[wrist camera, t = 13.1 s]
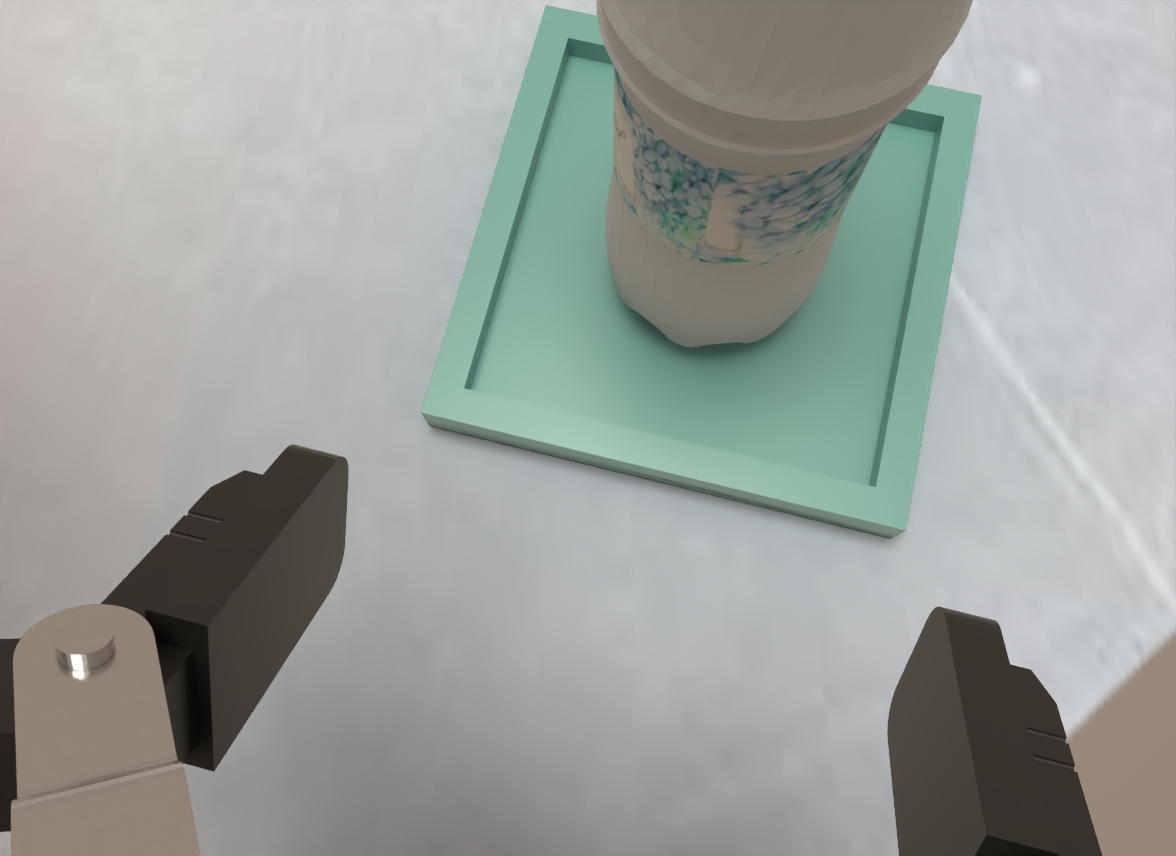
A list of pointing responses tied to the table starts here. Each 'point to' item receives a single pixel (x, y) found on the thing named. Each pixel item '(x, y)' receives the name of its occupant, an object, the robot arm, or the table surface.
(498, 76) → the table surface
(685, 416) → the tray
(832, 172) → the bottle
